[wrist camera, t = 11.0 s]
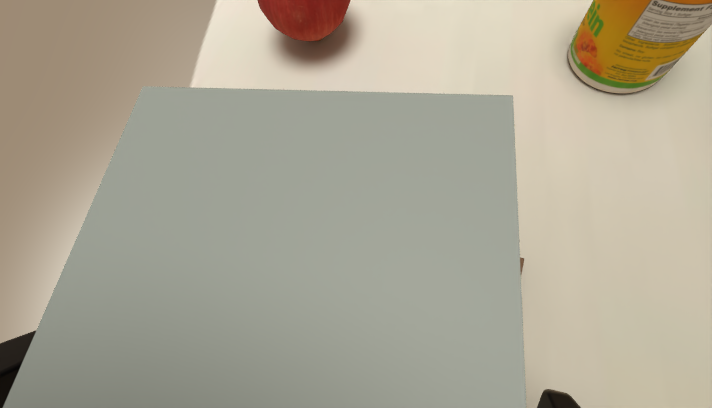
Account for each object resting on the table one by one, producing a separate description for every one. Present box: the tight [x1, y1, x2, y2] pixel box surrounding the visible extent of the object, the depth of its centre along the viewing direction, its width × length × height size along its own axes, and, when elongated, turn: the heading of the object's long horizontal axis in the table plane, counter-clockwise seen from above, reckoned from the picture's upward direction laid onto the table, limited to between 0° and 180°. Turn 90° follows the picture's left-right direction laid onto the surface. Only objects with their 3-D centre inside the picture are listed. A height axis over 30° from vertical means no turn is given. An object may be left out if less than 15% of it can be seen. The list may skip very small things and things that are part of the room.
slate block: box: [3, 87, 526, 408], centre depth 10 cm, size 5×5×13 cm
